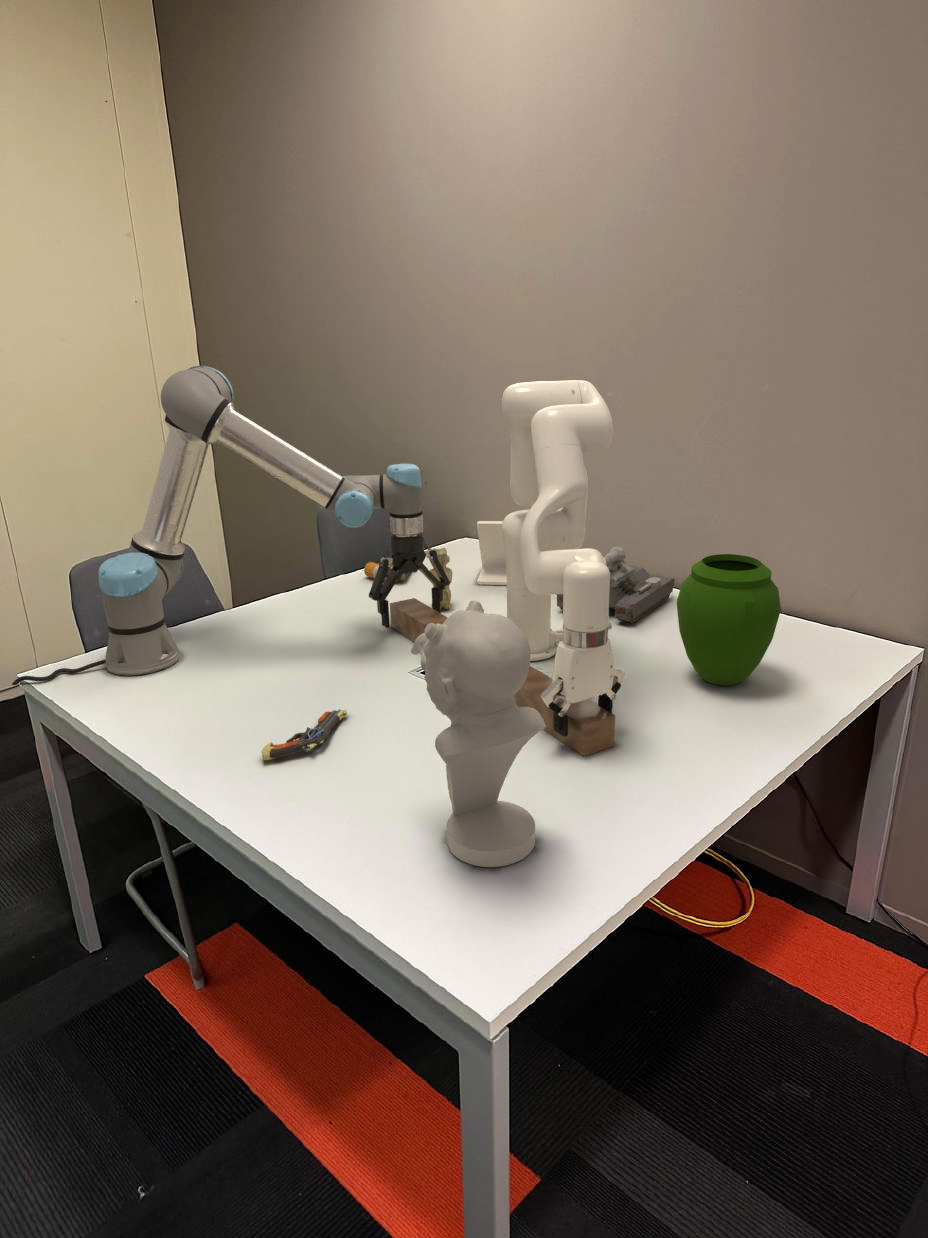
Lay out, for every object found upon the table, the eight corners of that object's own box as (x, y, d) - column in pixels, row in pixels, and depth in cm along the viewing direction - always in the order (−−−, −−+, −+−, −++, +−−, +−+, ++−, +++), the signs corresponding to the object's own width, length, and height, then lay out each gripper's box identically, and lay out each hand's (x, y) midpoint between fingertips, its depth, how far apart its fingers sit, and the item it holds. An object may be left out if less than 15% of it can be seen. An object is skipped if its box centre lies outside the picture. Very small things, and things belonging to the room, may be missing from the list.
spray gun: (384, 565, 253) (429, 572, 247) (354, 578, 239) (401, 586, 233) (384, 551, 252) (430, 558, 246) (354, 564, 237) (402, 571, 232)
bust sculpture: (481, 772, 140) (476, 569, 128) (565, 848, 120) (569, 617, 108) (392, 800, 134) (378, 588, 121) (465, 886, 114) (457, 642, 101)
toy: (603, 584, 229) (605, 530, 224) (673, 597, 218) (677, 540, 213) (555, 612, 210) (556, 553, 205) (630, 627, 199) (633, 566, 194)
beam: (614, 746, 148) (615, 715, 146) (583, 756, 145) (584, 725, 143) (415, 620, 208) (414, 597, 206) (390, 626, 205) (389, 603, 203)
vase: (783, 670, 175) (796, 555, 166) (758, 707, 159) (770, 583, 151) (690, 652, 185) (697, 543, 176) (657, 685, 169) (664, 568, 161)
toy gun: (256, 750, 145) (311, 748, 142) (297, 707, 162) (347, 704, 160) (259, 765, 145) (314, 762, 143) (300, 720, 163) (349, 718, 161)
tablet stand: (569, 585, 229) (570, 524, 223) (476, 584, 232) (475, 523, 226) (570, 566, 246) (571, 508, 240) (484, 564, 249) (483, 507, 243)
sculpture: (453, 601, 220) (451, 545, 214) (454, 611, 213) (452, 553, 208) (430, 602, 219) (428, 546, 214) (430, 612, 213) (428, 554, 207)
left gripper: (446, 521, 203) (449, 605, 211) (350, 538, 191) (356, 626, 199) (462, 528, 197) (464, 614, 204) (363, 545, 185) (370, 636, 193)
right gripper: (611, 617, 150) (607, 705, 156) (529, 638, 142) (529, 730, 148) (639, 630, 144) (635, 721, 150) (556, 653, 136) (555, 748, 142)
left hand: (411, 620), depth 202 cm, fingers open, 13 cm apart
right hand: (583, 725), depth 149 cm, fingers open, 9 cm apart
